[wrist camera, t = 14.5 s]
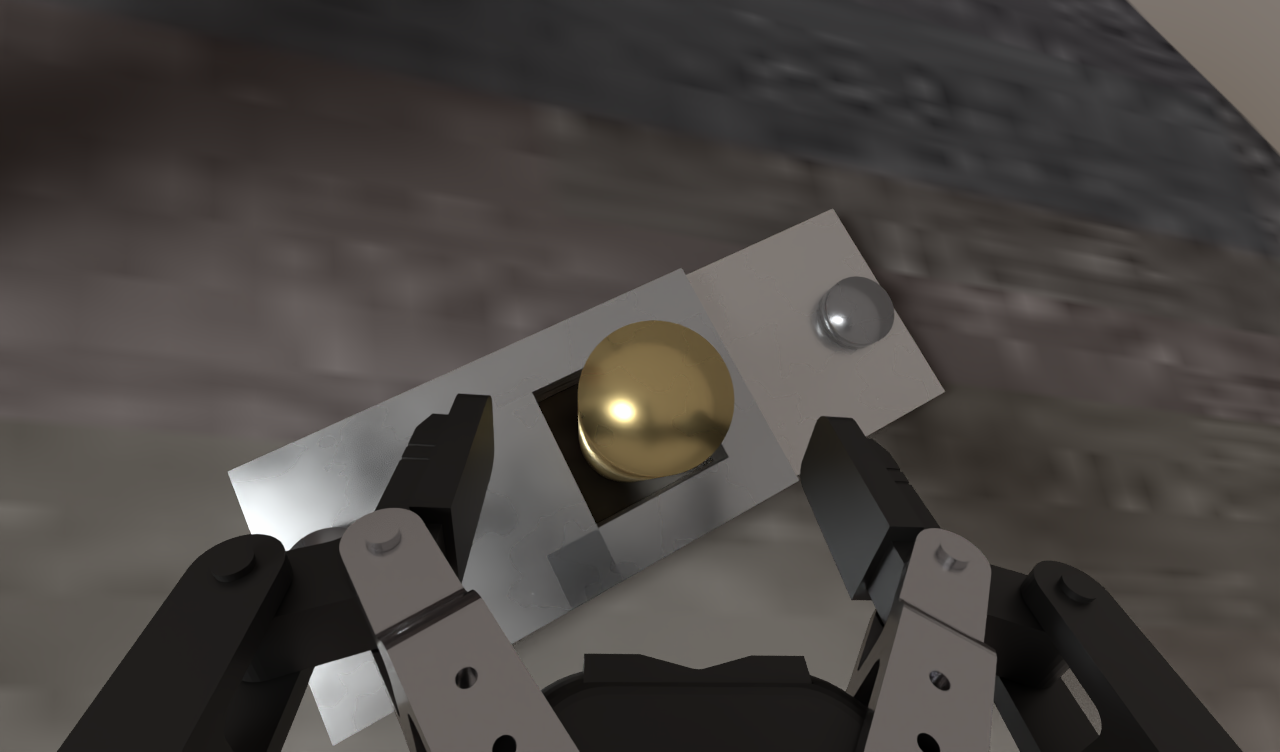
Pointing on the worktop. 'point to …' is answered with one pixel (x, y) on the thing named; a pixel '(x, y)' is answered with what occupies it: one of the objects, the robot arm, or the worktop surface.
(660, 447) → the pin
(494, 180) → the worktop surface
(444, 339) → the worktop surface
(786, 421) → the grey metal plate
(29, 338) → the worktop surface
